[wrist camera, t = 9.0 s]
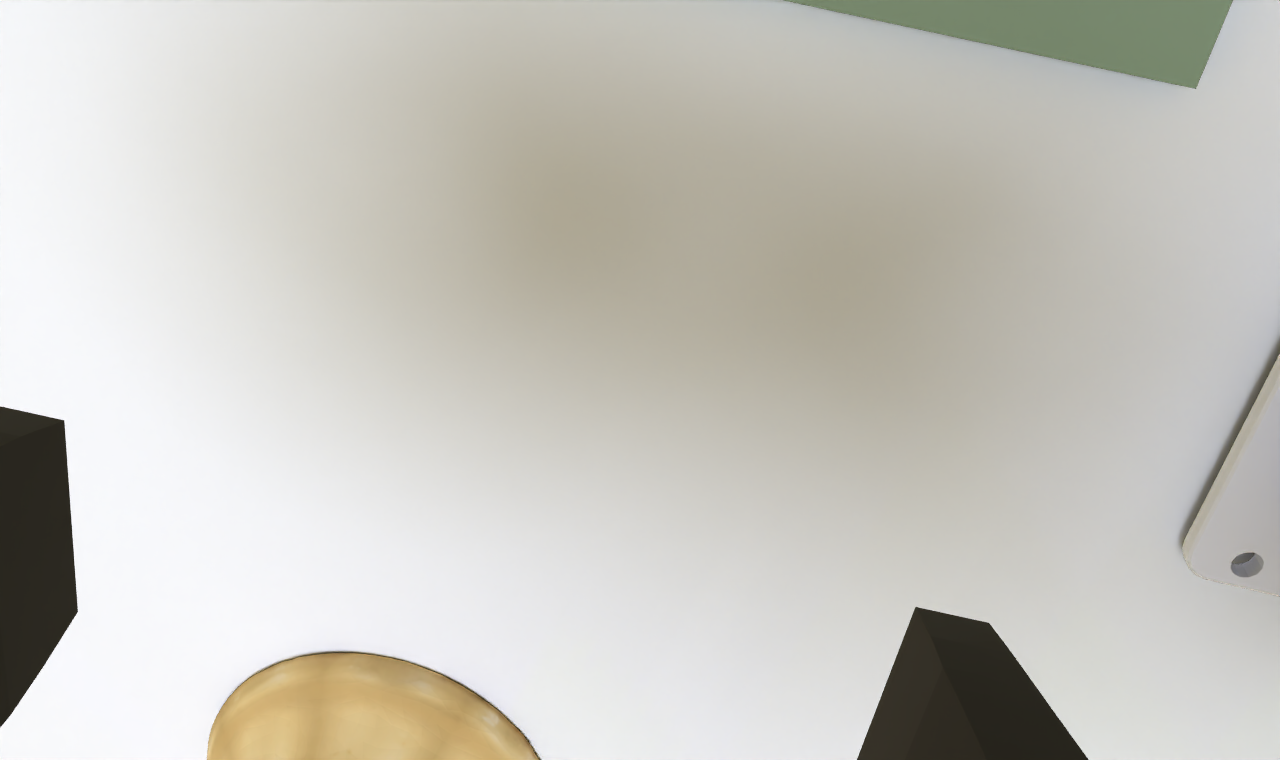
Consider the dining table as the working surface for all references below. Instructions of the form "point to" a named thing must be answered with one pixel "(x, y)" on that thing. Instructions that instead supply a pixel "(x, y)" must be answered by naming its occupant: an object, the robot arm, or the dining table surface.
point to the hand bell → (360, 715)
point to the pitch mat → (1070, 29)
